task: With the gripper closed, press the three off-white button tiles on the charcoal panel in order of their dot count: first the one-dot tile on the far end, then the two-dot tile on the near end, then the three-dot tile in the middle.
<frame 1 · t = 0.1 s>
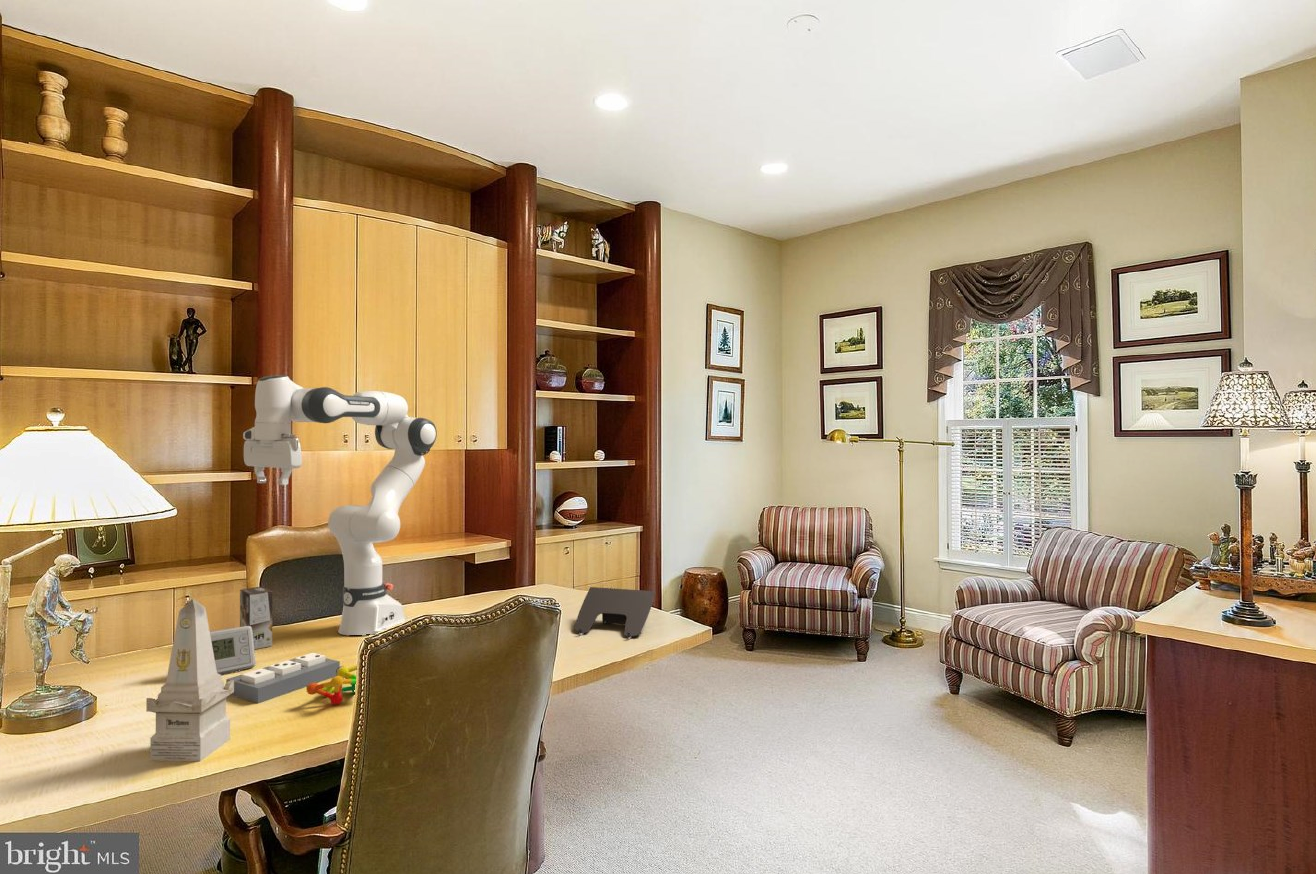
hand: (272, 483, 197), 48 cm above the table, tool pointing down, fingers open, 8 cm apart
portable electronic device stand: (613, 630, 231), on the table
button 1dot: (258, 679, 172), point 3 cm above the table, slide at 0.0 cm
button panel: (285, 684, 178), on the table
miniature monument: (191, 750, 142), on the table
decorative model: (342, 699, 169), on the table
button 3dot: (285, 670, 178), point 3 cm above the table, slide at 0.0 cm
digital clock: (219, 673, 185), on the table
coffee box: (255, 645, 209), on the table
button 2dot: (310, 662, 184), point 3 cm above the table, slide at 0.0 cm
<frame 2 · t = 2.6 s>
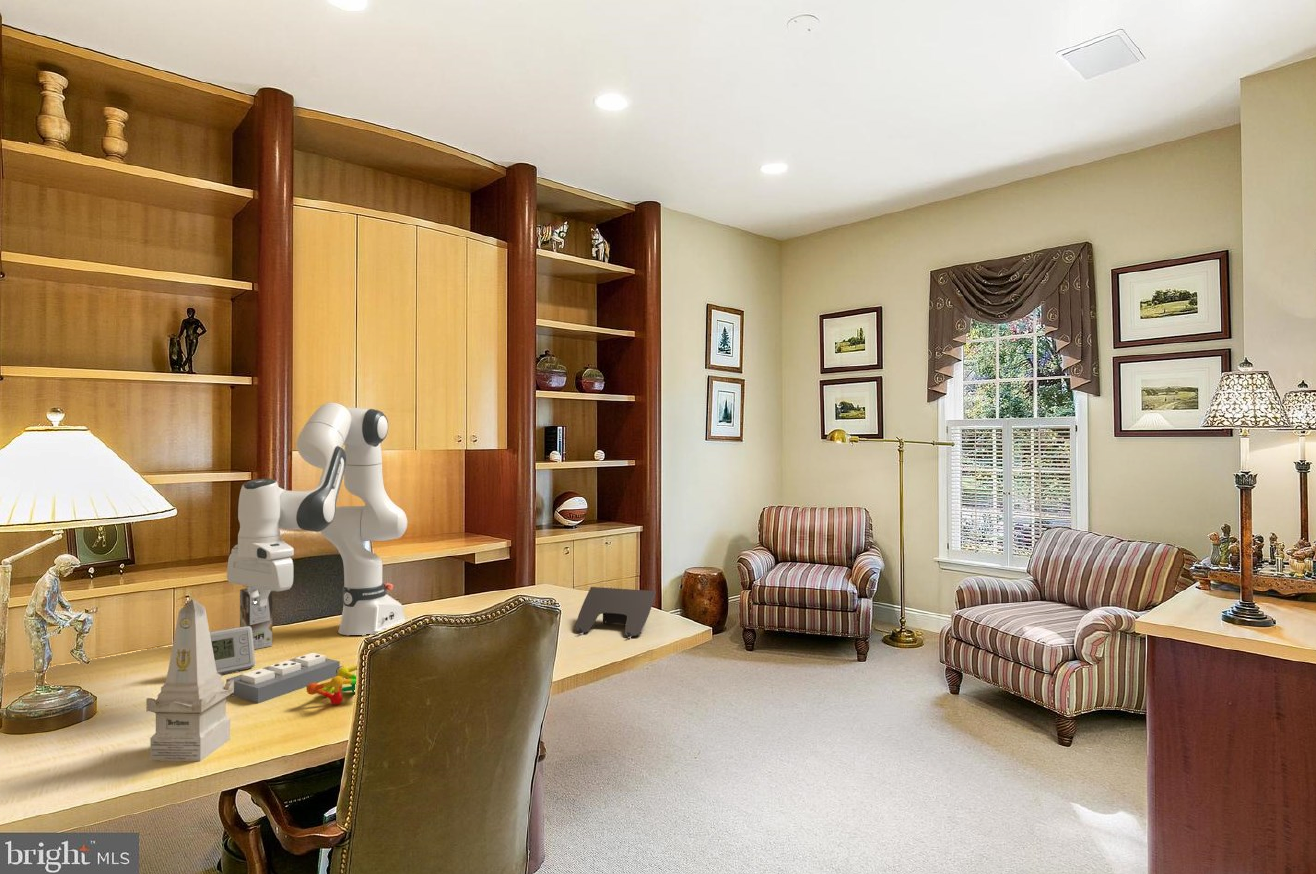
hand: (258, 605, 171), 21 cm above the table, tool pointing down, fingers closed
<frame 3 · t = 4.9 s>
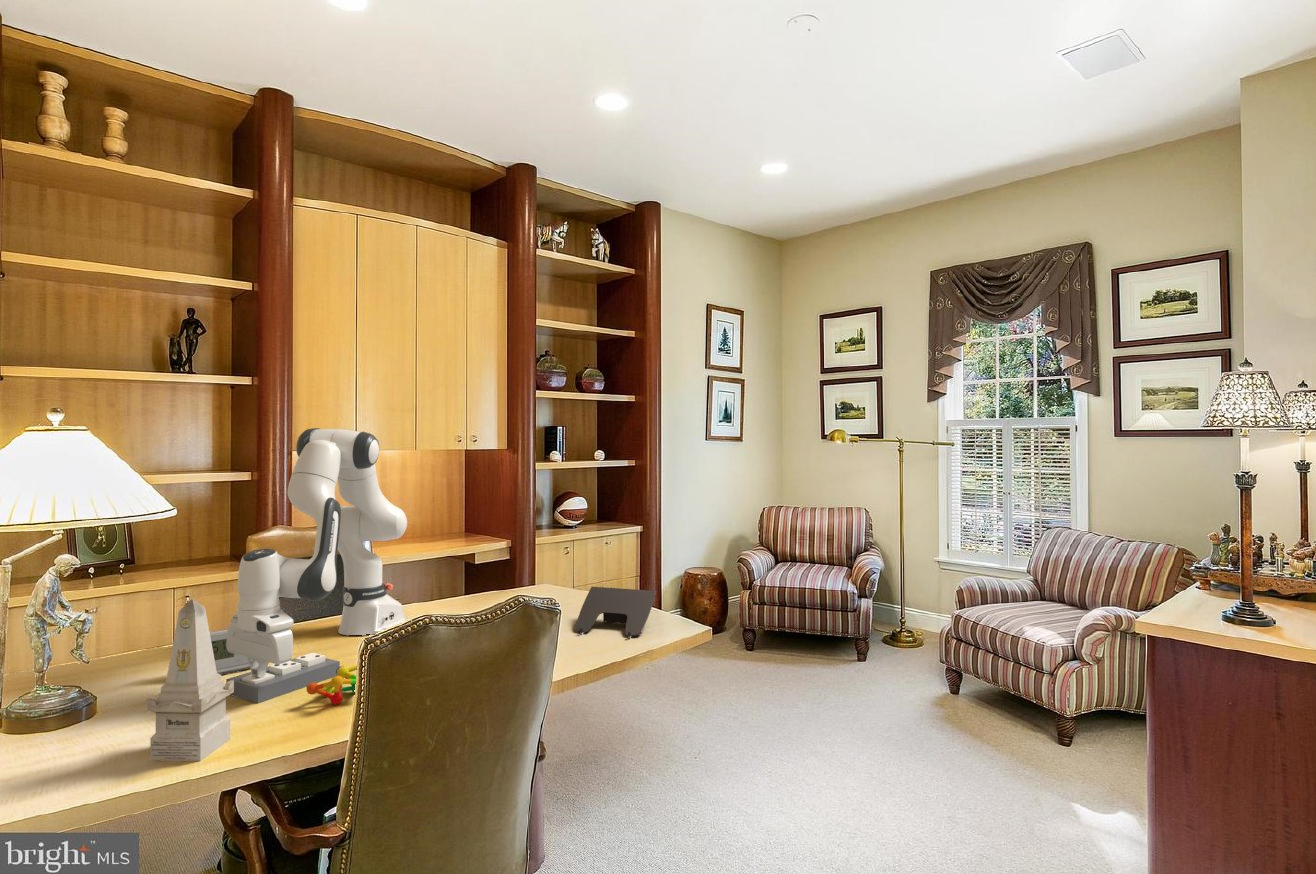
hand: (258, 676, 171), 4 cm above the table, tool pointing down, fingers closed, pressing on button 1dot
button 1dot: (258, 682, 172), point 3 cm above the table, slide at 0.8 cm, touching button panel, gripper
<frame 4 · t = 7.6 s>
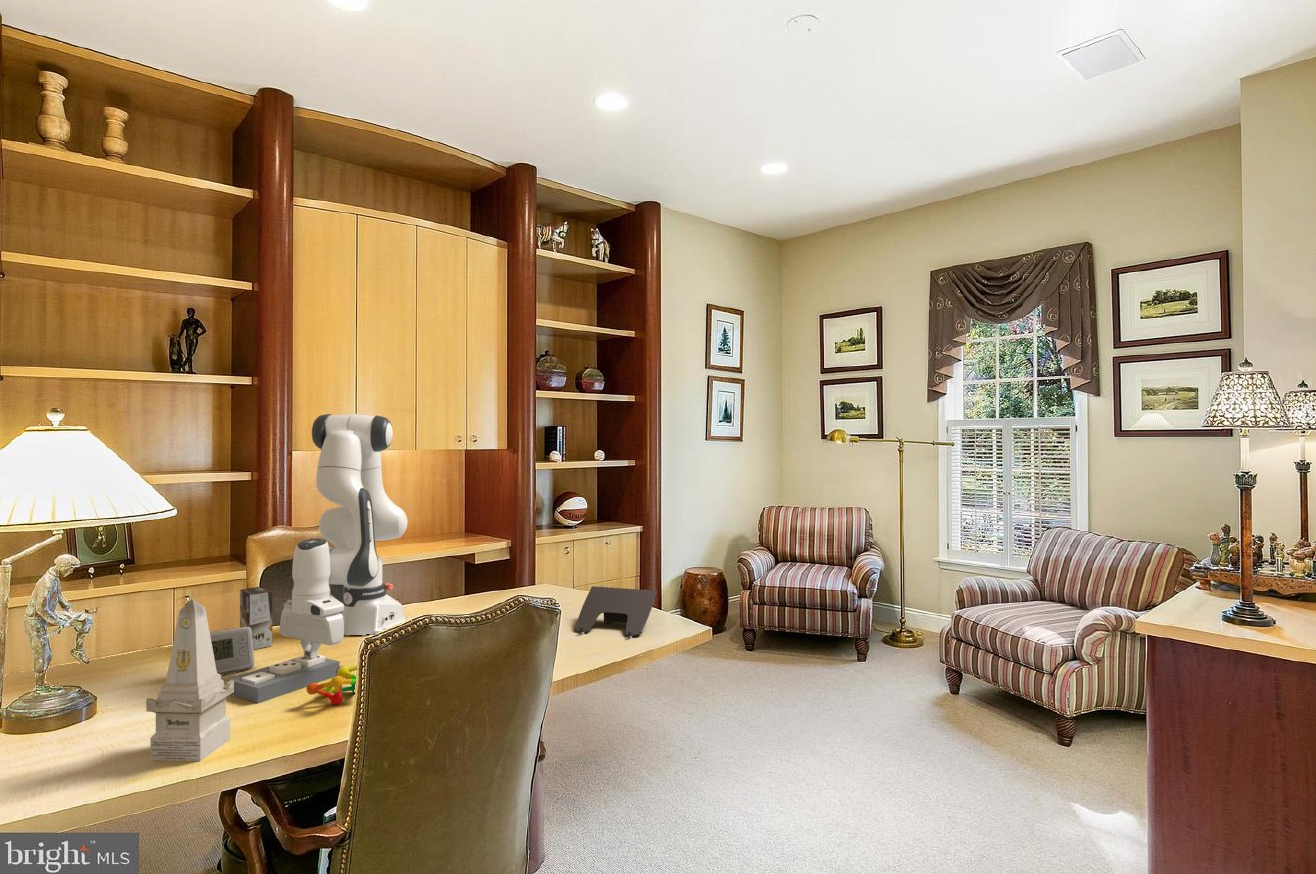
hand: (310, 657, 184), 5 cm above the table, tool pointing down, fingers closed, pressing on button 2dot
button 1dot: (258, 682, 172), point 3 cm above the table, slide at 0.8 cm, touching button panel
button 2dot: (310, 663, 184), point 3 cm above the table, slide at 0.2 cm, touching gripper
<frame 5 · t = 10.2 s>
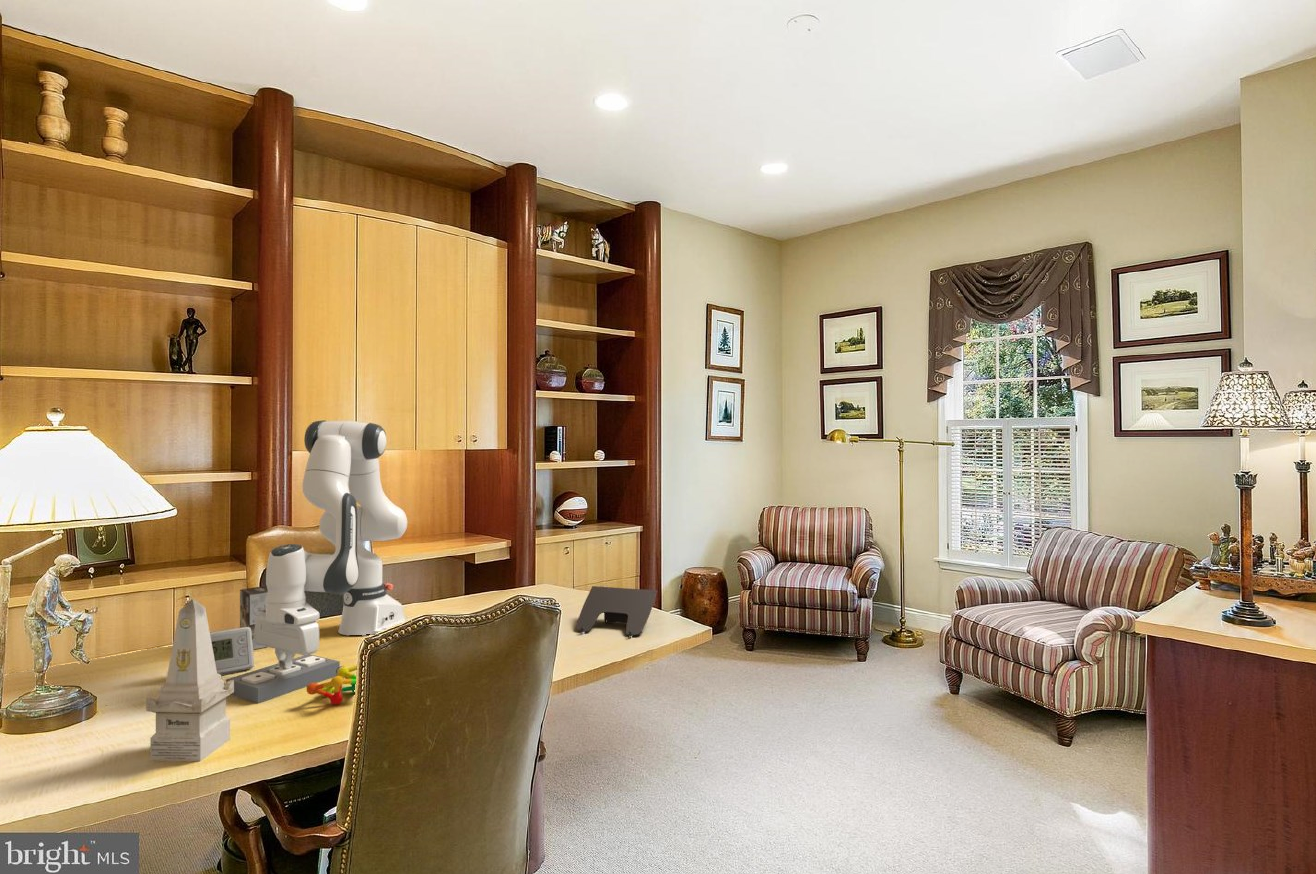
hand: (285, 667, 178), 4 cm above the table, tool pointing down, fingers closed, pressing on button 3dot
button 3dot: (285, 673, 178), point 3 cm above the table, slide at 0.8 cm, touching gripper
button 2dot: (310, 665, 184), point 3 cm above the table, slide at 0.8 cm, touching button panel
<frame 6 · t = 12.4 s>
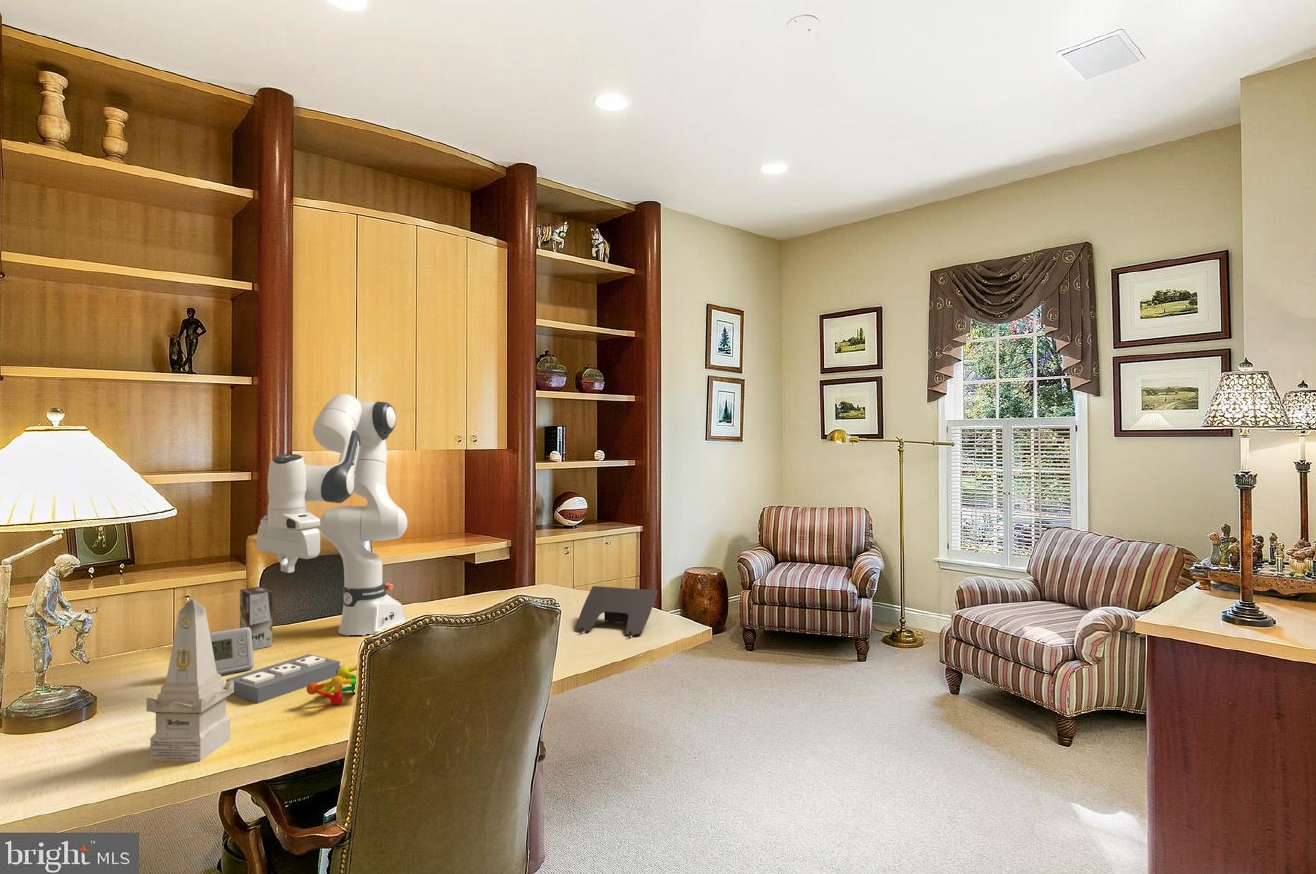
hand: (287, 571, 184), 27 cm above the table, tool pointing down, fingers closed
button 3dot: (285, 673, 178), point 3 cm above the table, slide at 0.8 cm, touching button panel
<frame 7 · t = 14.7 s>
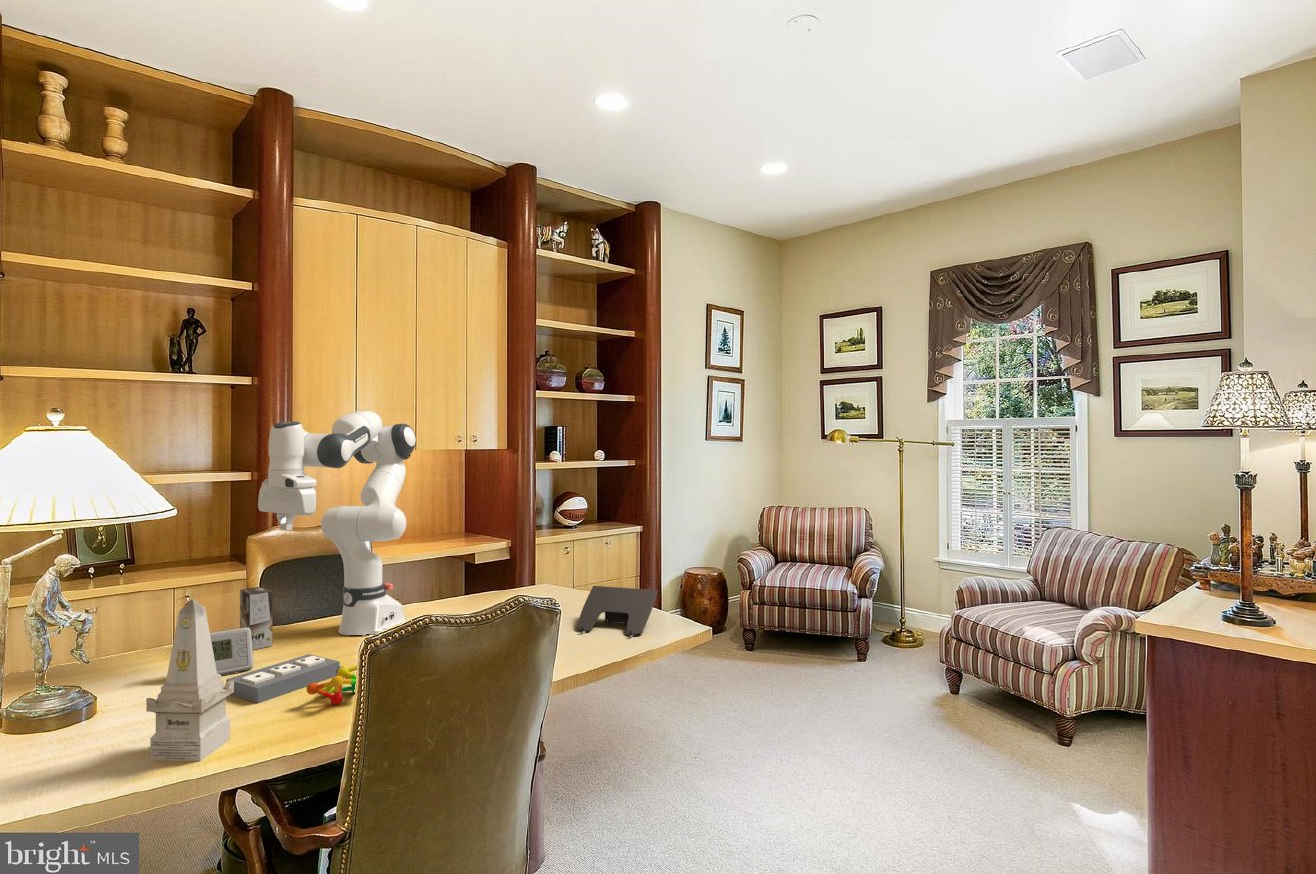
hand: (286, 529, 199), 35 cm above the table, tool pointing down, fingers closed
at the end: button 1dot slide at 0.8 cm; button 2dot slide at 0.8 cm; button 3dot slide at 0.8 cm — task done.
